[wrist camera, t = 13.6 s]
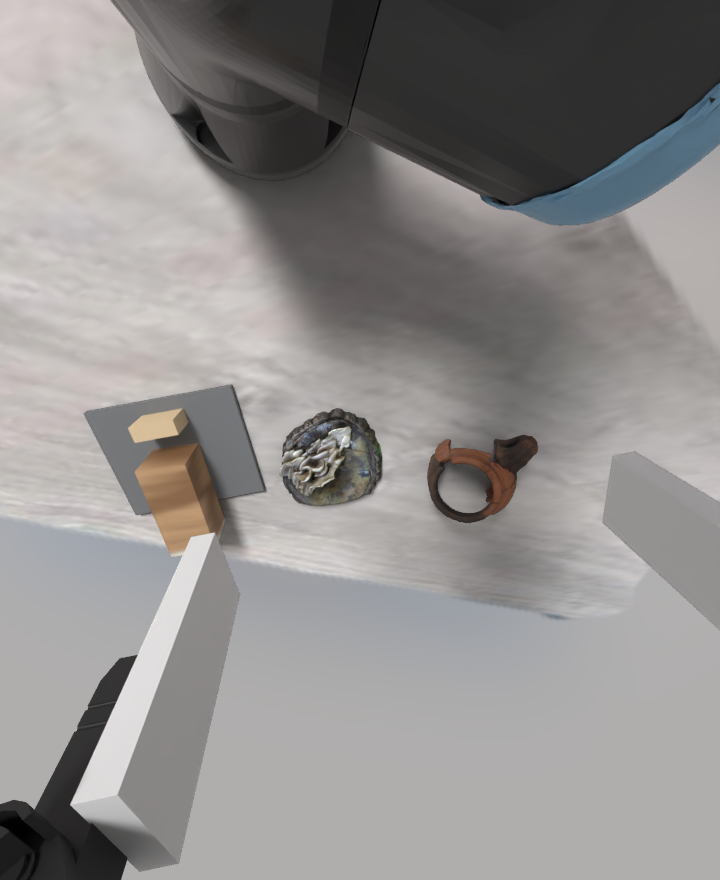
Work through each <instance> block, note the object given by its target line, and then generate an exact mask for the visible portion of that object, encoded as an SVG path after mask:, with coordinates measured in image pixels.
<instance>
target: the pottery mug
mask: <svg viewBox="0 0 720 880" xmlns="http://www.w3.org/2000/svg"><path fill="white" fill-rule="evenodd" d="M450 443H451V441H450V440H449V439H447V440H445V441H443V442H442V443H441V444H439V445H438V447H437V449H436V450H435V454H433V455H432V457H431V460H430V463H429V468H428V475H427V479H428V486H429V491H430V493H431V494H430V495H431V498H432V501H433V502H434V504H435V506H436V507H437V508H438V509H439V510H440V512H442V513H443V514H444V515H446V516H447V517H449V518H451V519H453V520H456V521H459V522H464V523H471V522H477V521H480V520H483V519H485V518H486V517H488V516H489V515H492V514H496V513H497V512H499V511H501V510H502V509H503V508H504V507H505V506H506V505H507V504H508V502H509V501H510V500H511V498H512V496H513V494H514V490H515V488H516V481H517V474H516V473H517V472H518V471H519V470H520V469H521V468H522V467H523V466H525V465H526V464H527V462H528V461H529V460H530V459H531V458H532V457H533V456H534V455H535V454H536V453H537V451H538V445H537V441H536V440H535V439H534V437H532V436H527V435H521V436H517V437H514V438H512V439H509V440H499V439H495V440H494V443H495V444H496V448H495V459H496V461H497V462H498V463H493V462H491V454H488V453H485V452H481V451H478V450H474V449H466V448H454V449H450ZM450 460H451V461H452V463H453V464H469V465H472V466H475V467H477V468H478V469H480V470H481V471H483V472H484V473H486V475H487V476H488V478H489V479H490V481H491V484H492V488H490V489H488V490H487V491H486V493H487V498H486V501H487V502H490V503H489V505H488V506H487V507H485V508H484V509H482V510H481V511H479V512H476V513H462V512H458V511H456V510H454V509H452V508H450V507H449V506H448V505H447V504H446V503H445V502H444V501H443V500H442V498H441V497H440V495H439V492H438V486H437V484H438V478H439V476H440V474H441V472H442V471H443V470H444V464H445V463H446V462H448V461H450Z"/></svg>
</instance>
